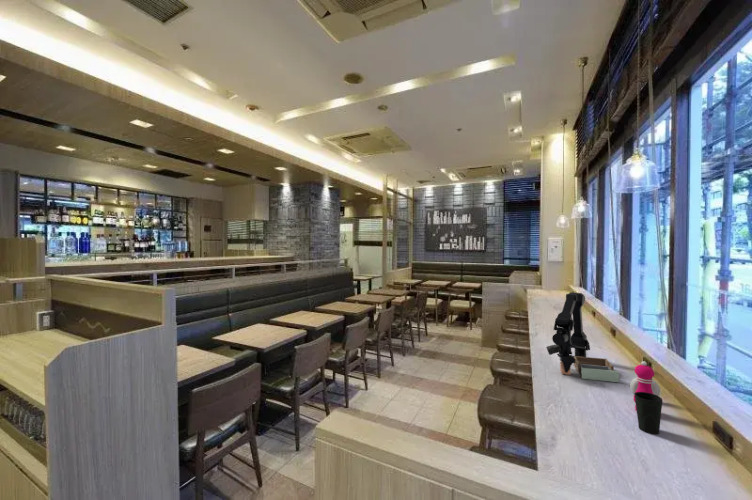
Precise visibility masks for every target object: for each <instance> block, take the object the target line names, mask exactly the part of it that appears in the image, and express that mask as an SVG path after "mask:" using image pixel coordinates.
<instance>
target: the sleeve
mask: <svg viewBox="0 0 752 500" xmlns="http://www.w3.org/2000/svg"><path fill="white" fill-rule="evenodd" d="M572 356H573V357H574V358H575V363H573V367H574V368H575V370H576V371H577V374H581V372H580V364H585V365H596V366H607V367H609V368H610V369H611V370H612V371H615V370H614V369H615V368H614V365H613V364H612V363H611V362H610V361H609V360H608V358H600V357H599V358H598V357H590V356H589V357H587V356H586V357H578V356H575V355H572Z"/></svg>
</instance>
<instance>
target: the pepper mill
mask: <svg viewBox="0 0 752 500" xmlns="http://www.w3.org/2000/svg"><path fill="white" fill-rule="evenodd" d="M634 374H635V375H636V377H637V381H638V388H637V390H636V392H647V393H651V394H653V392H652V388H651V383H653V380H654V379H653V377H655V371H654V369H653V368H652V367H651V366H649V365H648V363H647V362H646V361H645V360H644V361H643V360H642V361H641V363H640V364H638V365H636V366H635V368H634ZM636 377H635V378H636ZM636 392H635V393H636ZM633 402H634V403H635V395H634V394H633ZM634 408H635V412H637V410H636V404H634Z"/></svg>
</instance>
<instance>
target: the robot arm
mask: <svg viewBox="0 0 752 500" xmlns="http://www.w3.org/2000/svg"><path fill="white" fill-rule="evenodd" d="M585 301H586V296H585V294H584V293H582V292H571V291H570V292H569V293H566V294H565V301H564V305H563V307H562V310H561V312H559V313H558V314H557V316H556V317H555V320H554V324H553V325H554V326H553V331H555V333H554V334H553V335H552V338H551V339H552V342H553V344H552V345H551V344H550V345H547V346H546V347H545V348H546V350H547V353H548V355H549V356H550V355H554V354H556V355H557V357H559V360H560V362H563V366H564V370H565V372H568V371H569V369H570V368H571V367H572V365H573V364H574V363H575V358H574V357H573V356H578V357H587V351H591V346H590V342H589V340H588V338H587V335H586V333H585V332H584V328H583V314H582V313H583V311H582V307H583V306H584V304H585ZM572 331H573V333H572ZM572 349H574V355H573V351H572Z"/></svg>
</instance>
